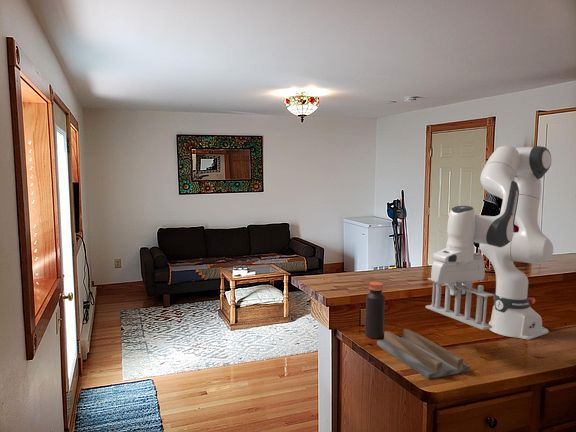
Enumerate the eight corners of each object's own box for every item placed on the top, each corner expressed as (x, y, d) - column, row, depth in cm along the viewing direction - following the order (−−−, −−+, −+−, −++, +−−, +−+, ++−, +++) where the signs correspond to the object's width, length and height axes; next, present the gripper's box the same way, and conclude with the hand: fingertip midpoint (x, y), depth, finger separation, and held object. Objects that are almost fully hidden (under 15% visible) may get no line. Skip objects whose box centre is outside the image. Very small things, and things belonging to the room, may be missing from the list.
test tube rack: (425, 307, 167) (427, 272, 166) (434, 306, 169) (436, 271, 168) (482, 330, 145) (485, 288, 143) (492, 328, 147) (495, 287, 145)
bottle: (371, 340, 168) (373, 286, 165) (361, 333, 174) (363, 281, 172) (387, 337, 170) (389, 284, 168) (376, 331, 176) (378, 280, 174)
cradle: (413, 339, 169) (414, 327, 169) (469, 371, 143) (470, 357, 143) (376, 344, 163) (377, 332, 163) (428, 378, 137) (428, 364, 137)
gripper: (476, 250, 162) (474, 289, 163) (429, 254, 154) (427, 294, 156) (490, 254, 156) (488, 293, 157) (442, 258, 148) (439, 299, 150)
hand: (457, 294), depth 156 cm, fingers closed on test tube rack, 2 cm apart
